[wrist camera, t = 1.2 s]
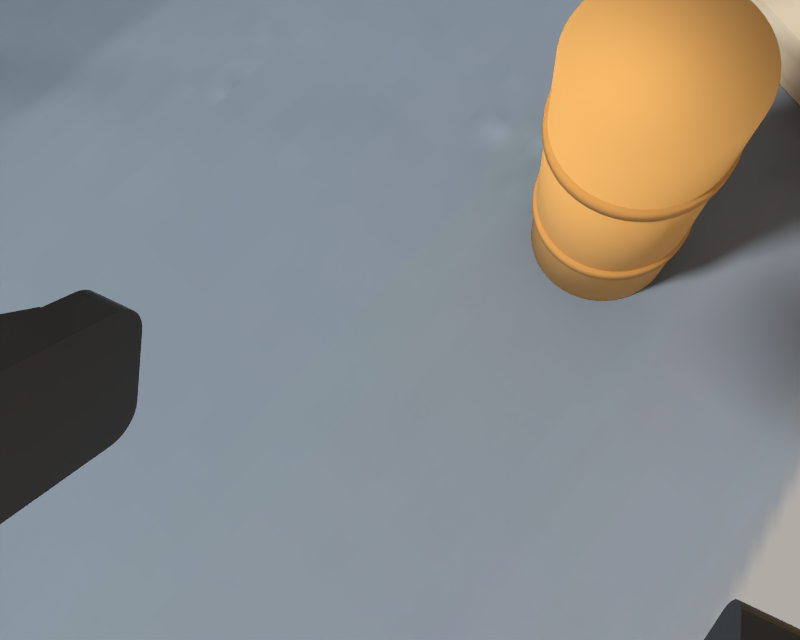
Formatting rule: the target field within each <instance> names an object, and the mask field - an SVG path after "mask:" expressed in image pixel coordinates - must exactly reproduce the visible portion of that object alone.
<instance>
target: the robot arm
mask: <svg viewBox="0 0 800 640" xmlns="http://www.w3.org/2000/svg"><path fill="white" fill-rule="evenodd" d="M141 338H142V322H141V319H140V316H139V315H138V314H137V313H136V312H135V311H133V310H131V309H129V308H127V307H125V306H123V305H120V304H118V303H116V302H114V301H112V300H110V299H108V298H106V297H104V296H102V295H99V294H97V293H95V292H93V291H90V290H81V291H78V292H75V293H73V294H70V295H68V296H66V297H64V298H62V299H59V300H57V301H55V302H53V303H50V304H48V305H46V306H44V307H42V308H40V307H37V308H32V309H26V310H21V311H16V312H10V313H5V314H0V524H1V523H2V522H4V521H5V520H7V519H8V518H9V517H11V516H12V515H14V514H15V513H17V512H18V511H19V510H21V509H22V508H24V507H25V506H26V505H28V504H29V503H31V502H32V501H33V500H35V499H36V498H38V497H39V496H41V495H42V494H43V493H45V492H46V491H48V490H49V489H50V488H52V487H53V486H55V485H56V484H57V483H59V482H60V481H62V480H63V479H64V478H66V477H67V476H69V475H70V474H72V473H73V472H74V471H76V470H77V469H79V468H80V467H81V466H83V465H84V464H86V463H87V462H88V461H90V460H91V459H93V458H94V457H96V456H97V455H98V454H100V453H101V452H103V451H104V450H105V449H107V448H108V447H110V446H111V445H112V444H113V443H115V442H116V441H117V440H118V439H119V438H120V437H121V435H122V434H123V433H124V432H125V430H126V429H127V427H128V426H129V424H130V422H131V420H132V418H133V415H134V413H135V409H136V405H137V395H138V380H139V366H140V352H141ZM704 640H800V629H798V628H796V627H794V626H792V625H790V624H788V623H786V622H783V621H781V620H779V619H777V618H775V617H773V616H771V615H769V614H766V613H764V612H762V611H760V610H758V609H756V608H754V607H752V606H750V605H748V604H746V603H744V602H741V601H739V600H737V599H735V600H733V601H731V602H730V603H729V604H728V605H727V606H726V607H725V609H724V610H723V612H722V613H721V615H720V616H719V618H718V619H717V621H716V622H715V624H714V625H713V627H712V628H711V630H710V632H709V633H708V635H707V636H706V638H705V639H704Z"/></svg>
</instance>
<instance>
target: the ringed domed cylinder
mask: <svg viewBox="0 0 800 640" xmlns="http://www.w3.org/2000/svg"><path fill="white" fill-rule="evenodd" d="M781 66H782V63H781V54H780V49H779V45H778V41H777V38H776V36H775V33H774V31H773V29H772V27H771V25H770V23H769V22H768V20H767V19H766V17H765V15H764V14H763V13H762V12H761V11H760V9H759V8H758V7H757V6H756V5H755V4H754V3H753V2H752V1H751V0H584V1H583V2H582V3H581V4H580V5H579V7H578V8H577V9H576V10H575V11H574V13H573V14H572V15H571V17H570V18H569V20H568V22H567V23H566V25H565V27H564V29H563V32H562V34H561V36H560V40H559V43H558V47H557V53H556V60H555V67H554V74H553V81H552V89H551V91H550V93H549V96H548V99H547V102H546V106H545V112H544V119H543V127H542V142H543V153H542V160H541V167H540V172H539V174H538V177H537V180H536V183H535V188H534V196H533V224H532V232H531V238H532V247H533V251H534V254H535V257H536V260H537V262H538V264H539V266H540V267H541V269H542V270H543V272H544V273H545V274H546V276H547V277H548V278H549V279H550V280H551V281H552V282H553V283H554V284H556V285H557V286H558V287H560V288H561V289H563V290H564V291H566V292H568V293H570V294H572V295H575V296H577V297H580V298H584V299H588V300H596V301H609V300H617V299H621V298H625V297H627V296H630V295H632V294H635V293H636V292H638V291H640V290H642V289H643V288H645V287H646V286H647V285H649V284H650V283H651V282H652V281H653V280H654V279H655V278H656V276H657V275H658V274H659V273H660V271H661V270H662V268H663V267H664V265H665V264H666V262H668V261H669V260H670V259H671V258H672V257H673V256H674V255H675V254H676V252H677V251H678V250H679V249H680V247H681V246H682V244H683V243H684V241H685V240H686V238H687V237H688V235H689V233H690V231H691V229H692V226H693V224H694V221H695V219H696V218H697V217H698V215H699V214H700V212H701V211H702V209H703V208H704V206H705V205H706V203H707V202H708V200H709V199H710V198H711V197H712V196H713V195H715V194H716V193H717V192H718V191H719V190H720V188H721V187H722V186H723V184H724V183H725V182H726V181H727V179H728V178H729V176H730V175H731V173H732V172H733V170H734V169H735V167H736V165H737V163H738V162H739V160H740V158H741V155H742V152H743V150H744V147H745V145H746V144H747V143H748V141H749V140H750V138H751V137H752V135H753V134H754V132H755V131H756V129H757V128H758V126H759V125H760V123H761V122H762V120H763V119H764V117H765V116H766V114H767V113H768V111H769V109H770V108H771V106H772V104H773V102H774V100H775V97H776V94H777V92H778V89H779V84H780V79H781Z"/></svg>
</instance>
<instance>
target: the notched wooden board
mask: <svg viewBox="0 0 800 640" xmlns="http://www.w3.org/2000/svg"><path fill="white" fill-rule="evenodd" d="M751 1H752V2H753V3H754V4H755V5H756V6H757V7H758V8H759V9H760V11H761V12H762V13H763V14H764V15H765V17H766V19H767V20H768V22H769V23H770V25H771V27H772V29H773V31H774V33H775V36H776V38H777V41H778V45H779V49H780V54H781V63H782V66H781V79H780V85H781V86H782V87H783V88H784V89H785V90H786V91H787V92H788V93H789V95H790V96H791V97H792V98H793V99H794V100H795V101H796V102H797V103H798V104H799V105H800V0H751Z"/></svg>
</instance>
